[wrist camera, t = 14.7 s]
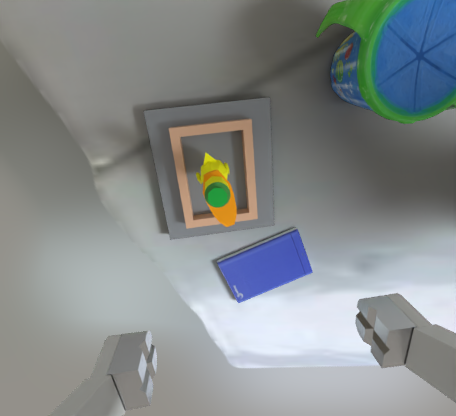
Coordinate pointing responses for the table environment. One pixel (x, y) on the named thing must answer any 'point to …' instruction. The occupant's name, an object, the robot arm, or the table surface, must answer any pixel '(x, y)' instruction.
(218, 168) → the toy figure
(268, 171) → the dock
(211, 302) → the table surface
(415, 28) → the snack cup
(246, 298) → the hard drive
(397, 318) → the robot arm
